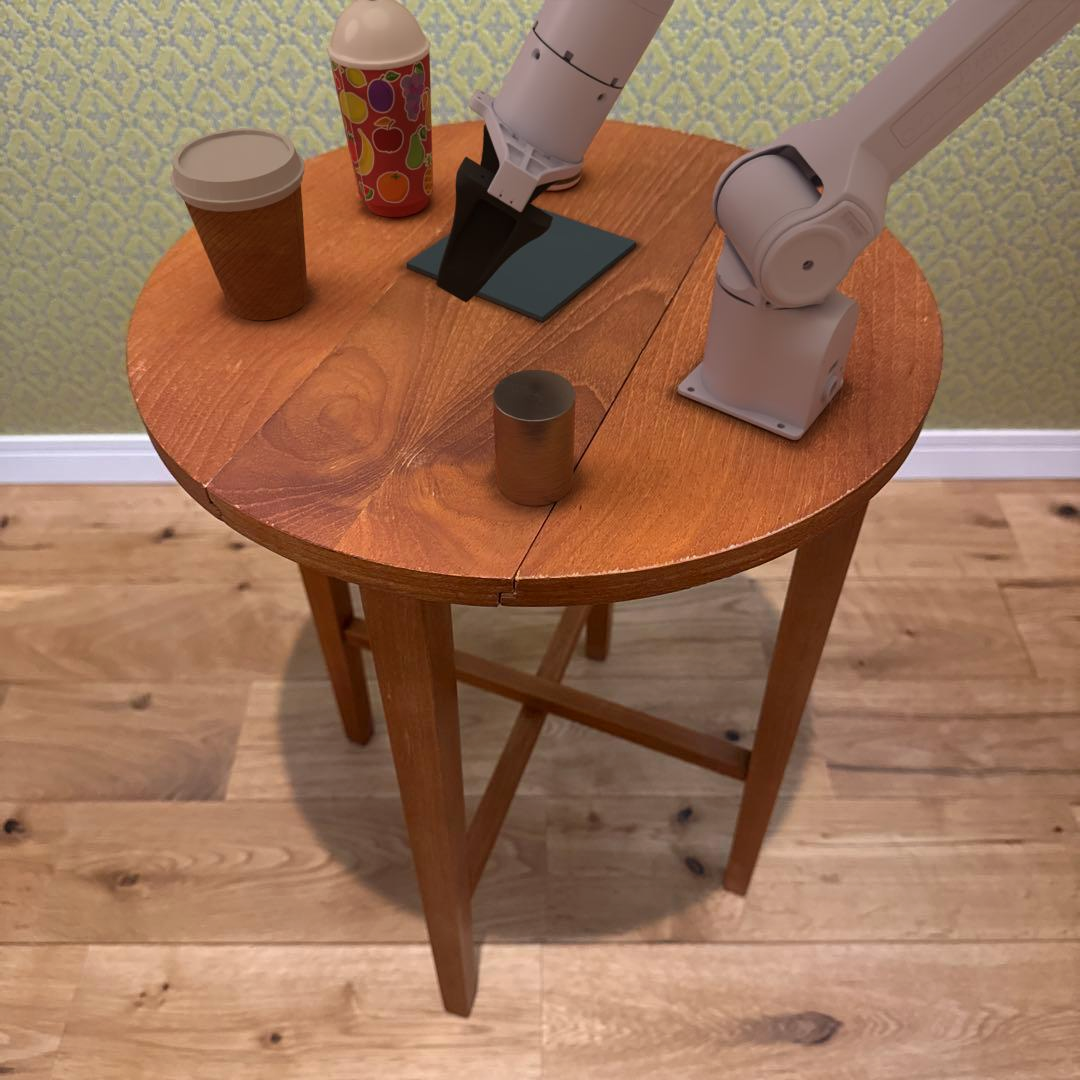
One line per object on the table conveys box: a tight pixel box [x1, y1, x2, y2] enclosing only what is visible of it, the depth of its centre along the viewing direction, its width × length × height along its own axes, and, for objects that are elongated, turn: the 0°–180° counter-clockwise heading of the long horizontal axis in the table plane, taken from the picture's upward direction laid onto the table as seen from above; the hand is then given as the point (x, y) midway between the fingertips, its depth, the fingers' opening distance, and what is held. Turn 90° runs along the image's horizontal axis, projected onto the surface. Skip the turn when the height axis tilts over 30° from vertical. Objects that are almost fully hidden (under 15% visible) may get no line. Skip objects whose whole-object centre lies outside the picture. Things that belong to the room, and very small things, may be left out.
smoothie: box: [326, 0, 434, 218], centre depth 82 cm, size 8×8×20 cm
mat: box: [405, 206, 637, 323], centre depth 82 cm, size 14×14×1 cm
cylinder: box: [492, 369, 576, 507], centre depth 61 cm, size 5×5×7 cm
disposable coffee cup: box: [170, 127, 309, 321], centre depth 74 cm, size 10×10×12 cm
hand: (463, 267), depth 59 cm, fingers open, 7 cm apart
